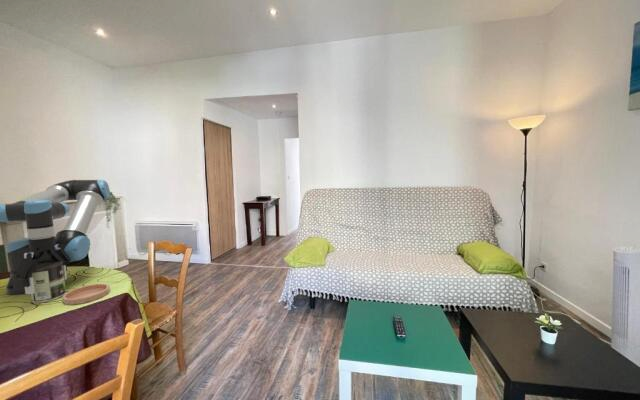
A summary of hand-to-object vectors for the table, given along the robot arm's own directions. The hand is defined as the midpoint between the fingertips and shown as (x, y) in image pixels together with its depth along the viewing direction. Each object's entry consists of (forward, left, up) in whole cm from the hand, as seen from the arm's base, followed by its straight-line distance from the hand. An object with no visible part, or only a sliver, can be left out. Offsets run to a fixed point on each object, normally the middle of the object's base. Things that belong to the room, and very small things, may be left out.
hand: (47, 286), depth 108 cm
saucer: (+7, +14, -5) cm, 16 cm away
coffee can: (0, 0, -5) cm, 5 cm away
